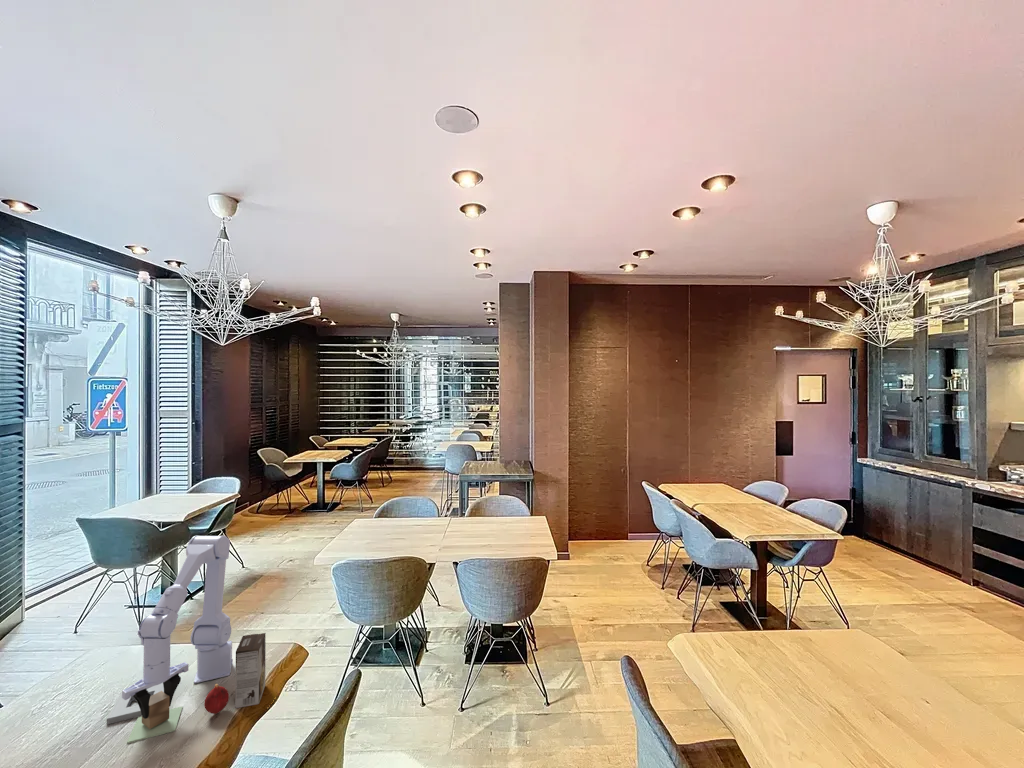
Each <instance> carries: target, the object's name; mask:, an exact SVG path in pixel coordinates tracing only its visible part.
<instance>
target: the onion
mask: <svg viewBox="0 0 1024 768" xmlns="http://www.w3.org/2000/svg"><path fill="white" fill-rule="evenodd" d="M229 700H230V694H229V691H228V689H227V688H226V687H224V686H222V685H219V683H215V684H214V688H212V689H211V690H209V692H208V693H207V695H206V697H205V699H204V702H203V707H204V709H205V711H206V712H207V713H210V714H212V715H217V714H219V713H220V712H221V711H223V710H224V709H225V708H226V707H227V705H228V703H229Z"/></svg>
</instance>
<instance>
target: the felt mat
mask: <svg viewBox="0 0 1024 768" xmlns="http://www.w3.org/2000/svg"><path fill="white" fill-rule="evenodd" d="M182 710H183V706H178V707H174V708H169V719H168V720H166V721H164V722H162V723H160V724H158V725H156V726H155V727H153V728H151V729H149V728H148V727H146V726H145V725H144V724H143V723H142V716H139V717H137V719H136V722H135V724H134V726H133V728H132V731H131V733H130V735H129V737H128V739H127V741H126V744H131V743H134V742H139V741H143V740H146V739H150V738H153V737H154V738H155V737H157V736H161V735H164V734H169V733H173V732H176V729H177V726H178V723H179V719H180V718H181V717H180V716H181V714H182Z"/></svg>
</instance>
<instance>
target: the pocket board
mask: <svg viewBox="0 0 1024 768" xmlns="http://www.w3.org/2000/svg"><path fill="white" fill-rule="evenodd" d="M147 691H148V693H149V694H150V695H151V696H152V695H154V694H156V693H158V692H160V691H163V692H164V686H163V683H161V684H159V685H156V686H152V687H150V688H148V689H147ZM133 701H136V700H135V698H134V697H133V696H131V697H130V698H129V699H127V700H124V699H123V698H122V691H121V692H120V693H119V695H118V697H117V699H116V701H115V702H114V705H113V707H112V708H111V710H110V712H109V714H108V715H107V717H106V725H110V724H113V723H118V722H122V721H126V720H131V719H134V718H138V717H141V716H142V714H141V710H140V707H139V705H138V704H136V705H131V704H132V702H133ZM130 705H131V706H130Z"/></svg>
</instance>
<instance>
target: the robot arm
mask: <svg viewBox="0 0 1024 768" xmlns="http://www.w3.org/2000/svg"><path fill="white" fill-rule="evenodd" d="M190 538H191V539H189V541H188V543H187V546H186V548H185V554H186V555H185V556H186V558H185V559H184V562H183V563H182V566H181V568H180V571H179V573H178V574H177V576H176V579H175V580H174V582H173V584H172V585H171V586H169V587H167V588H165V590H164V592H163V594H162V595H161V597H160V598H159V600H158V602H157V604H156V605H155V607H154V609H153V610H152V612H151V614H149V615H148V616H146V617H145V618H143V619H142V620H141V622H140V624H139V628H138V631H137V636H138V637H139V639H140V640H141V641H140V644H141V645H142V646H143V667H142V668H143V677H142V678H141V679H139V680H138V681H136V682H135V683H133V684H131V685H130V686H128V687H126V688H125V689H122V691H121V692H122V698H123V699H124V700H127V699H129V698H130V697H131V696H133V697H134V698H135V701H136V703H137V705H139V707H140V710H141V714H142V717H143V718H144V719H146V718H148V716H149V700H150V696H151V695H150V694H149V693H148V691H147V689H148V688H150V687H152V686H156V685H159V684H161V683H163V686H164V693H166V694H167V695H168V696H170V700H169V708H170V707H171V706H172V701H173V699H174V695H175V692H176V690H177V687H178V686H179V685H180V683H181V679H182V678H181V676H180V675H179V674H181V673H186V672H188V671H189V663H187V662H186V661H184V662H181V663H180V664H176V665H174V666H171V636H172V634H173V632H174V631H175V629H176V626H177V623H178V622H177V620H178V618H179V614H178V613H179V611H180V609H181V607H182V606H183V604H184V602H185V600H186V598H187V597H188V589H187V588H188V587H189V585H190V584H191V583H192V581H193V579H194V578H195V576H196V575H197V573H198V571H199V570H200V568H201V567H202V566H203V565H204V564H206V569H205V570H206V571H205V572H206V573H205V579H204V580H205V582H204V583H205V584H204V593H203V605H202V606H203V607H202V615H201V616H199V617H198V618H197V619H196V620H194V623H193V628H192V631H191V633H190V637H189V639H190V643H191V645H192V646H194V649H195V650H197V653H196V654H197V658H196V659H197V661H196V662H197V665H196V674H195V676H194V680H193V683H194V684H198V683H202V682H207V681H211V680H215V679H219V678H220V679H221V678H224V677H228V676H230V675H231V671H232V667H233V664H234V659H233V641H232V640H230V638H231V634H232V626H231V617H230V616H229V615H228V614H226V613H224V611H223V604H224V603H223V601H224V592H225V591H224V589H225V575H226V567H227V566H226V565H227V560H228V559H229V558H230V556H229V555H230V545H231V540H230V539H229V538H228V536H227V535H197V534H196V535H194V536H192V537H190Z"/></svg>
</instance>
